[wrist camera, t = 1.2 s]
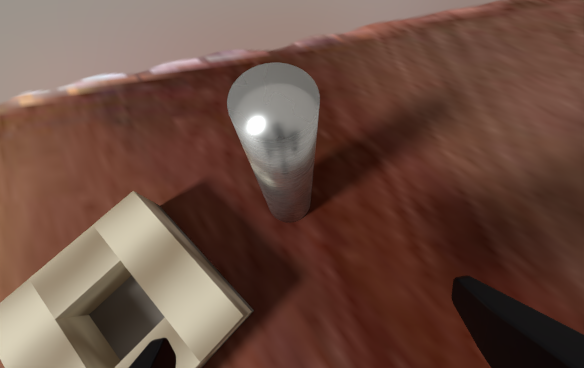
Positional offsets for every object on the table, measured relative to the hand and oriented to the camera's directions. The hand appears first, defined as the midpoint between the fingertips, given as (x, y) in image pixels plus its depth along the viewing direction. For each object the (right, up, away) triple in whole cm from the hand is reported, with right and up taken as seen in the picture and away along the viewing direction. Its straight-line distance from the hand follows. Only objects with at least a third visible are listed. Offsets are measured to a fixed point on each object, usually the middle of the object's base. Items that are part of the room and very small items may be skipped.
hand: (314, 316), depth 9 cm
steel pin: (-1, +3, +15) cm, 16 cm away
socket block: (-12, -6, +13) cm, 18 cm away
